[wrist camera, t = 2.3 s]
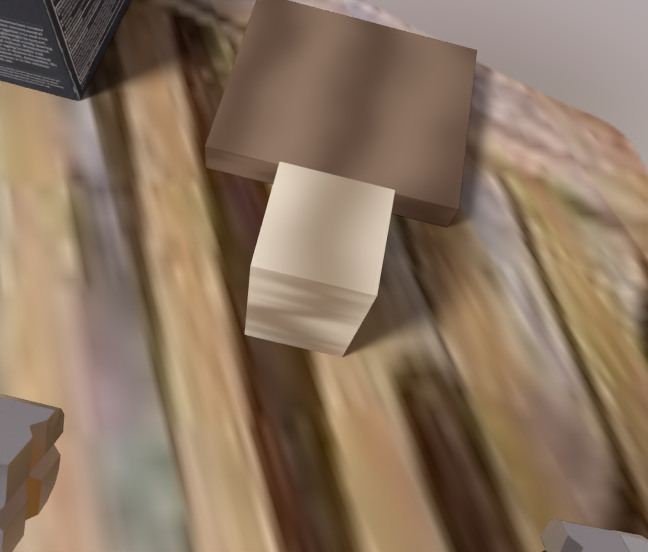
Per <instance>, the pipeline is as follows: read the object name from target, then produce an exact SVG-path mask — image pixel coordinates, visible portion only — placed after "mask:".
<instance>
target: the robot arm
mask: <svg viewBox="0 0 648 552" xmlns="http://www.w3.org/2000/svg"><path fill="white" fill-rule="evenodd" d="M63 425H64V413H63V411H62V409H61V408H57V407H53V406H49V405H45V404H41V403H37V402H32V401H28V400H24V399H20V398H16V397H12V396H8V395H4V394H0V552H12V551H13V550H14V548H15V547H16V545H17V544H18V543H19V541H20V540H21V538H22V537H23V535H24V528H25V520H27V519H29V518H31V517H33V516H36V515H38V514H39V512H40V511H41V509H42V508H43V506H44V505H45V503H46V502H47V500H48V498H49V496H50V493H51V491H52V489H53V487H54V484H55V481H56V478H57V474H58V470H59V463H60V454H59V452H58V450H57V449H56V447H55V445H54V443H55V442H56V440H57V439H58V438H59V436H60V435H61V434H62V433H63ZM541 539H542V542H543V545H544V547H545V550H544V551H543V552H648V540H647V539H646V538H644V537H643V536H641V535H636V534H630V533H625V532H620V531H615V530H612V531H610V530H605V529H601V528H596V527H591V526H586V525H582V524H577V523H572V522H567V521H563V520H558V519H552V520H551V521H550V522H549V523H548V524H547V525H546V527H545V529H544V532H543V534H542V536H541Z"/></svg>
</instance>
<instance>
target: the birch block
mask: <svg viewBox="0 0 648 552" xmlns="http://www.w3.org/2000/svg"><path fill="white" fill-rule="evenodd" d="M394 194H395V190H393V189H389V188H385V187H381V186H377V185H373V184H369V183H365V182H361V181H357V180H353V179H349V178H345V177H341V176H337V175H332V174H328V173H324V172H320V171H316V170H312V169H308V168H304V167H300V166H296V165H292V164H288V163H284V162H279V166H278V169H277V173H276V176H275V180H274V184H273V187H272V191H271V194H270V198H269V201H268V205H267V209H266V212H265V216H264V219H263V223H262V227H261V230H260V234H259V237H258V241H257V245H256V248H255V252H254V255H253V259H252V263H251V268H250V280H249V292H248V304H247V316H246V328H245V335H249V336H253V337H257V338H262V339H266V340H270V341H274V342H279V343H283V344H287V345H291V346H296V347H300V348H304V349H308V350H313V351H317V352H321V353H326V354H330V355H334V356H338V357H343V355H344V353H345V351H346V350H347V348H348V346H349V344H350V342H351V341H352V339H353V337H354V335H355V334H356V332H357V330H358V328H359V327H360V325H361V323H362V321H363V320H364V318H365V316H366V314H367V313H368V311H369V309H370V307H371V306H372V304H373V302H374V300H375V299H376V297H377V293H378V287H379V282H380V276H381V270H382V264H383V258H384V252H385V246H386V241H387V235H388V229H389V223H390V217H391V211H392V205H393V200H394Z"/></svg>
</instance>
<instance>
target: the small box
mask: <svg viewBox="0 0 648 552" xmlns="http://www.w3.org/2000/svg"><path fill="white" fill-rule="evenodd" d="M130 2H131V0H0V80H1V81H5V82H9V83H12V84H16V85H20V86H23V87H27V88H31V89H35V90H39V91H43V92H46V93H50V94H54V95H57V96H61V97H65V98H69V99H73V100H80V99H81V98H82V96H83V94H84V92H85V90H86V88H87V86H88V84H89V83H90V80H91V79H92V76H93V74H94V72H95V70H96V69H97V67H98V65H99V63H100V61H101V59H102V57H103V55H104V53H105V51H106V49H107V47H108V45H109V43H110V41H111V39H112V37H113V35H114V33H115V31H116V29H117V27H118V25H119V23H120V22H121V19H122V17H123V16H124V14H125V12H126V10H127V8H128V6H129V4H130Z"/></svg>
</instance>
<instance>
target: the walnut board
mask: <svg viewBox="0 0 648 552" xmlns="http://www.w3.org/2000/svg"><path fill="white" fill-rule="evenodd" d="M476 54H477V50H474V49H471V48H466V47H463V46H459V45H455V44H452V43H448V42H444V41H440V40H436V39H433V38H429V37H425V36H421V35H417V34H414V33H410V32H406V31H402V30H398V29H395V28H391V27H387V26H383V25H379V24H376V23H372V22H368V21H364V20H360V19H357V18H353V17H349V16H345V15H341V14H338V13H334V12H330V11H326V10H322V9H319V8H315V7H311V6H307V5H303V4H300V3H296V2H292V1H288V0H256V2H255V5H254V8H253V11H252V14H251V17H250V19H249V22H248V25H247V28H246V31H245V34H244V37H243V39H242V42H241V45H240V48H239V51H238V54H237V57H236V59H235V62H234V65H233V68H232V71H231V74H230V76H229V79H228V82H227V85H226V88H225V91H224V94H223V96H222V99H221V102H220V105H219V108H218V111H217V113H216V116H215V119H214V122H213V125H212V128H211V131H210V133H209V136H208V139H207V142H206V145H205V154H206V168H210V169H214V170H218V171H222V172H226V173H230V174H234V175H238V176H242V177H246V178H250V179H254V180H258V181H262V182H266V183H270V184H274V180H275V176H276V173H277V169H278V166H279V162H284V163H288V164H292V165H296V166H300V167H304V168H308V169H312V170H316V171H320V172H324V173H328V174H332V175H337V176H341V177H345V178H349V179H353V180H357V181H361V182H365V183H369V184H373V185H377V186H381V187H385V188H389V189H393V190H395V194H394V200H393V205H392V211H391V214H395V215H399V216H403V217H407V218H411V219H415V220H419V221H423V222H427V223H431V224H435V225H439V226H443V227H447V226H448V225H449V223H450V222H451V220H452V219H453V217H454V216H455V214H456V213H457V211H458V210H459V203H460V194H461V186H462V177H463V168H464V159H465V151H466V142H467V133H468V124H469V116H470V107H471V98H472V89H473V81H474V72H475V63H476Z"/></svg>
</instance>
